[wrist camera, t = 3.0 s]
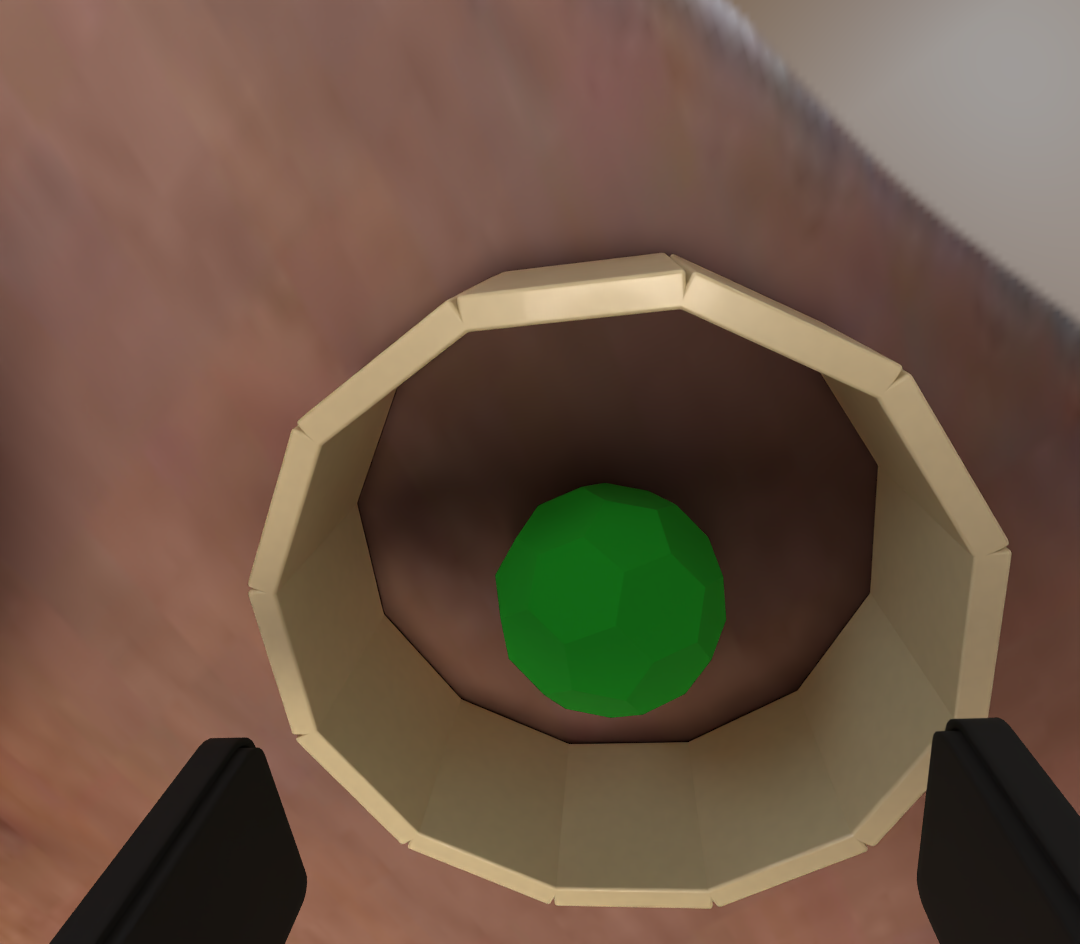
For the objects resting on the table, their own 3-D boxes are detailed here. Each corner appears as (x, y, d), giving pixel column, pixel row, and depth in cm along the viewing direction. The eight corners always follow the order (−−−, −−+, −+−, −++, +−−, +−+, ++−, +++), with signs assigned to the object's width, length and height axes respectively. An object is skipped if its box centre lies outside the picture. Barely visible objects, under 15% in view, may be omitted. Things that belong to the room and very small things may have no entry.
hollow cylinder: (923, 220, 13) (1061, 225, 9) (882, 755, 18) (960, 915, 14) (284, 298, 15) (161, 330, 11) (400, 760, 20) (345, 902, 16)
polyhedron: (564, 651, 18) (546, 793, 14) (478, 502, 17) (428, 606, 12) (739, 589, 17) (782, 722, 12) (661, 422, 16) (679, 506, 11)
